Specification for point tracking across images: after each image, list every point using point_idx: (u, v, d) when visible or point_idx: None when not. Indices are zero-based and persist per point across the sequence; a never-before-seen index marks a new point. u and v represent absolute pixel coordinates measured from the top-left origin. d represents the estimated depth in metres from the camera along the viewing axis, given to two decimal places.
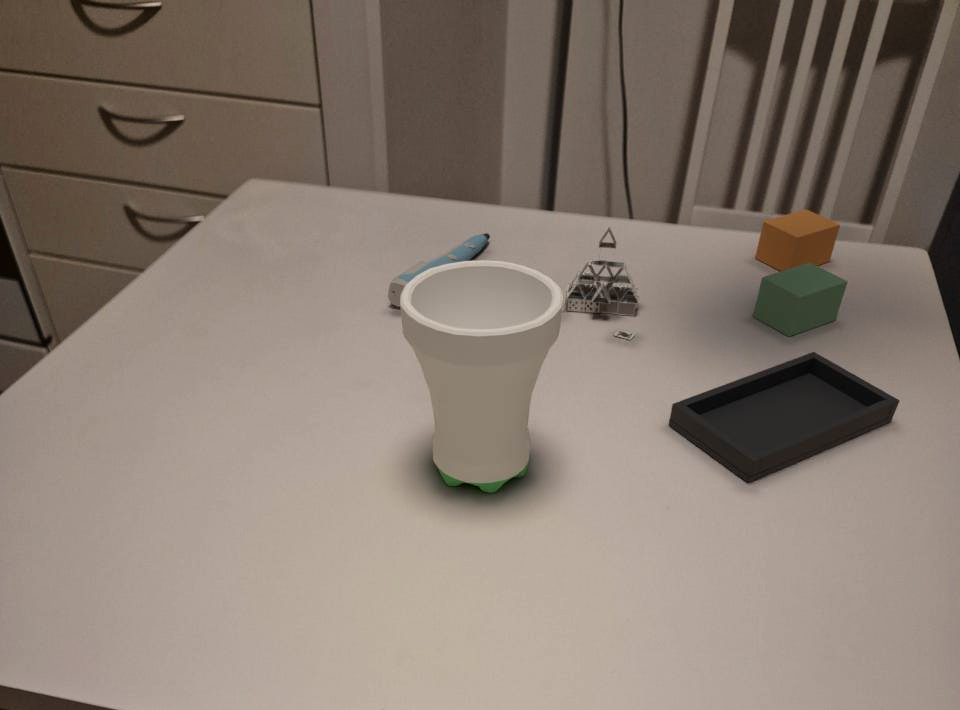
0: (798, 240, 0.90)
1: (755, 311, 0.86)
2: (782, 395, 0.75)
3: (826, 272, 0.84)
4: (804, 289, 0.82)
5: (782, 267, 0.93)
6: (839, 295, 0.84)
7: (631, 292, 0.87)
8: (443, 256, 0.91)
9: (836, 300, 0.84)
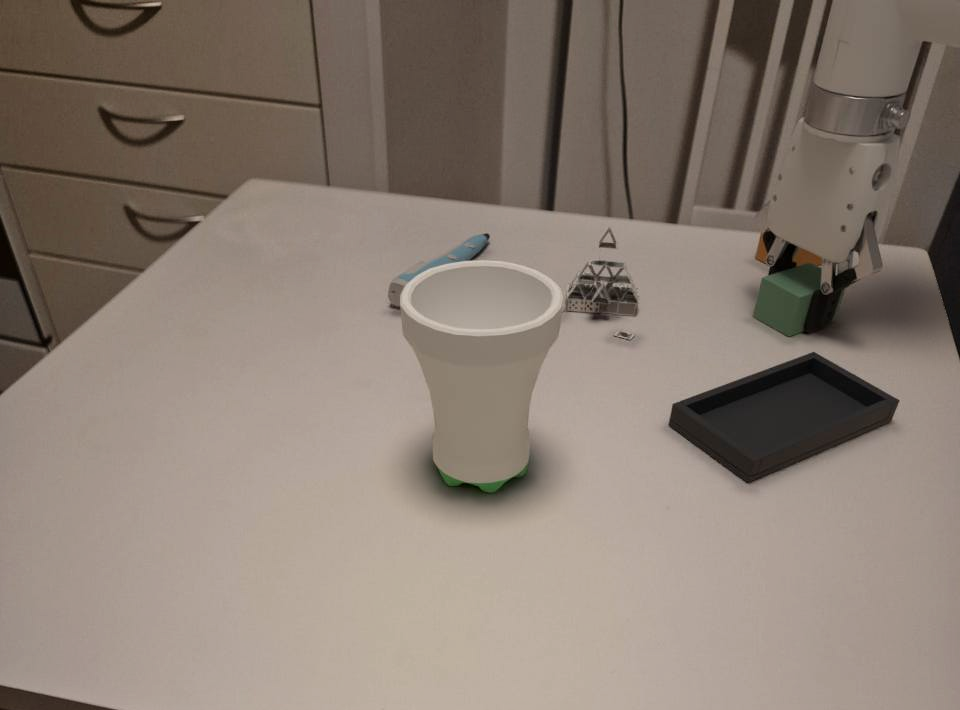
0: None
1: (755, 311, 0.86)
2: (782, 395, 0.75)
3: None
4: (804, 289, 0.82)
5: None
6: None
7: (631, 292, 0.87)
8: (443, 256, 0.91)
9: None
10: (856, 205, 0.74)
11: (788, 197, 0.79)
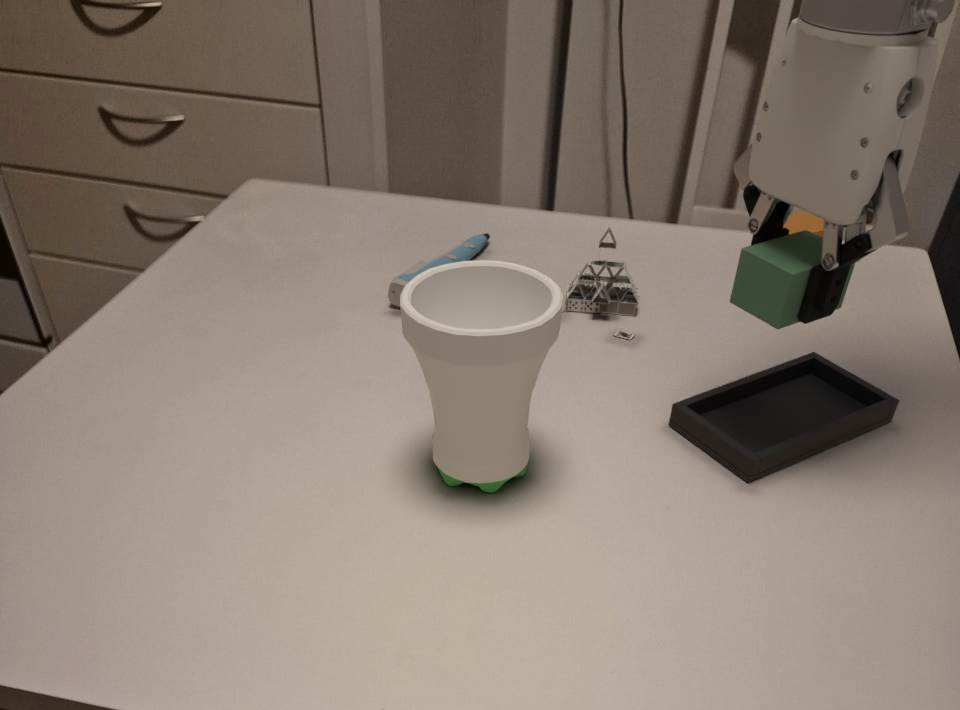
0: None
1: (733, 295, 0.63)
2: (782, 395, 0.75)
3: None
4: (798, 263, 0.59)
5: None
6: None
7: (631, 292, 0.87)
8: (443, 256, 0.91)
9: None
10: (873, 140, 0.51)
11: (776, 134, 0.56)
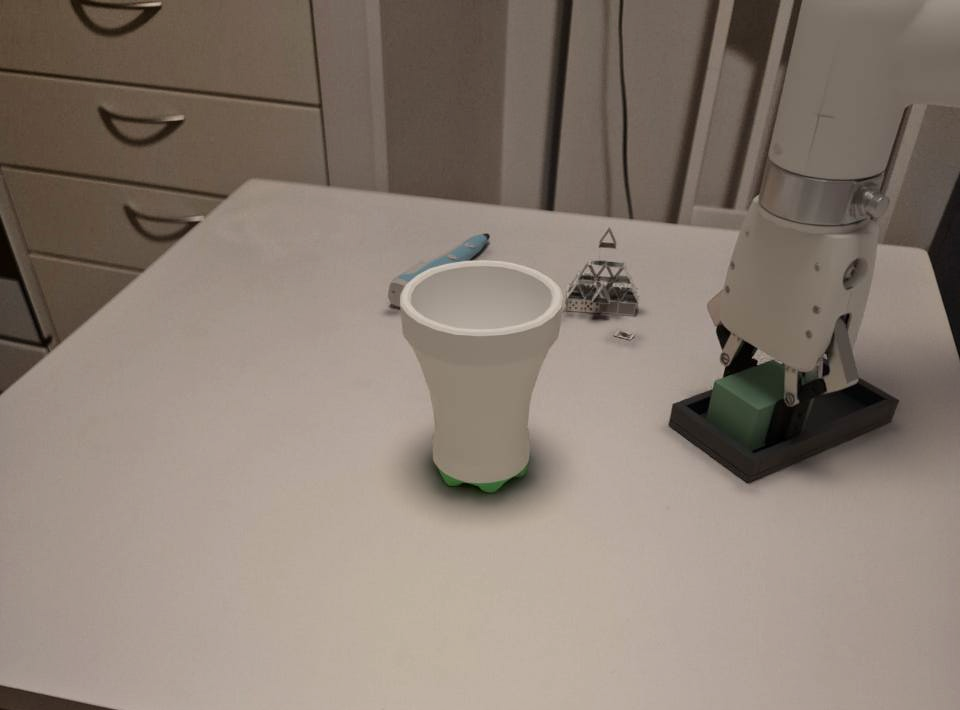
0: None
1: (708, 418, 0.71)
2: None
3: None
4: (764, 397, 0.67)
5: None
6: None
7: (631, 292, 0.87)
8: (443, 256, 0.91)
9: None
10: (824, 308, 0.59)
11: (742, 290, 0.64)
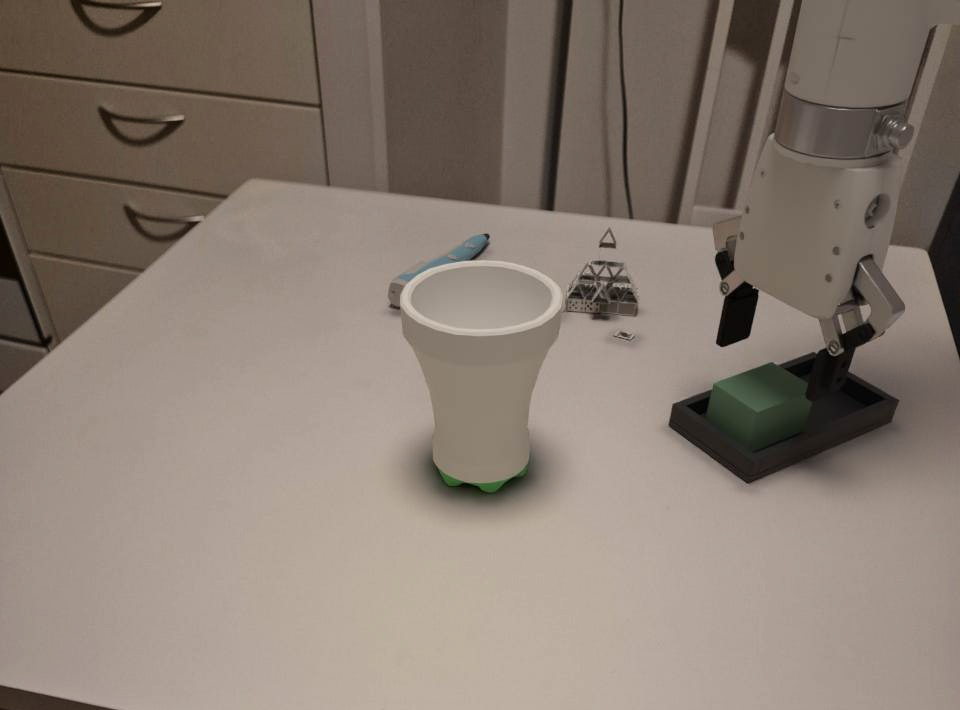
0: None
1: None
2: None
3: (791, 376, 0.70)
4: (763, 400, 0.67)
5: None
6: (807, 405, 0.69)
7: (631, 292, 0.87)
8: (443, 256, 0.91)
9: (803, 410, 0.69)
10: (844, 248, 0.56)
11: (758, 235, 0.61)
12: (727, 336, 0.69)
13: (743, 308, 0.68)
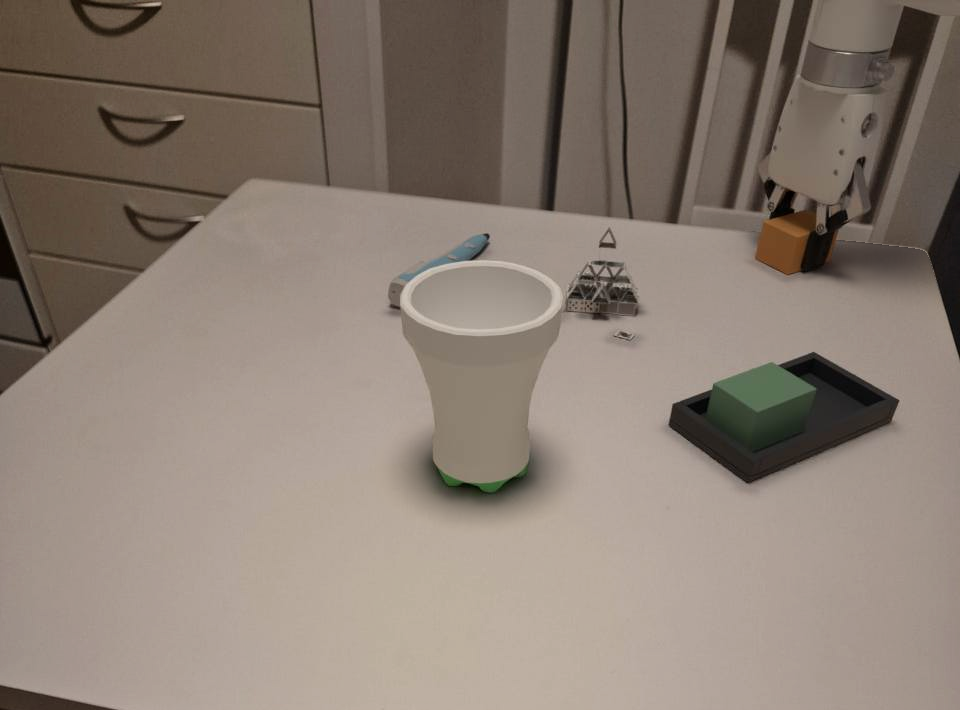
0: (798, 240, 0.90)
1: None
2: None
3: (791, 376, 0.70)
4: (763, 400, 0.67)
5: (782, 267, 0.93)
6: (807, 405, 0.69)
7: (631, 292, 0.87)
8: (443, 256, 0.91)
9: (803, 410, 0.69)
10: (847, 151, 0.83)
11: (786, 147, 0.88)
12: None
13: None
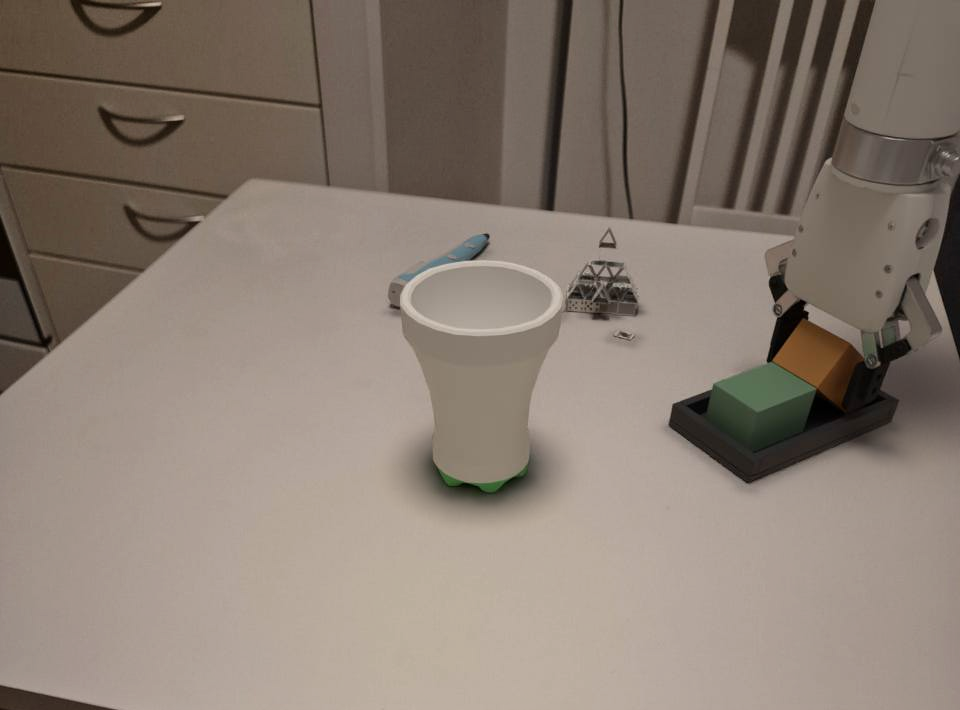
0: (848, 349, 0.67)
1: None
2: None
3: (791, 376, 0.70)
4: (763, 400, 0.67)
5: (812, 377, 0.69)
6: (807, 405, 0.69)
7: (631, 292, 0.87)
8: (443, 256, 0.91)
9: (803, 410, 0.69)
10: (895, 267, 0.60)
11: (810, 253, 0.65)
12: None
13: (794, 329, 0.72)
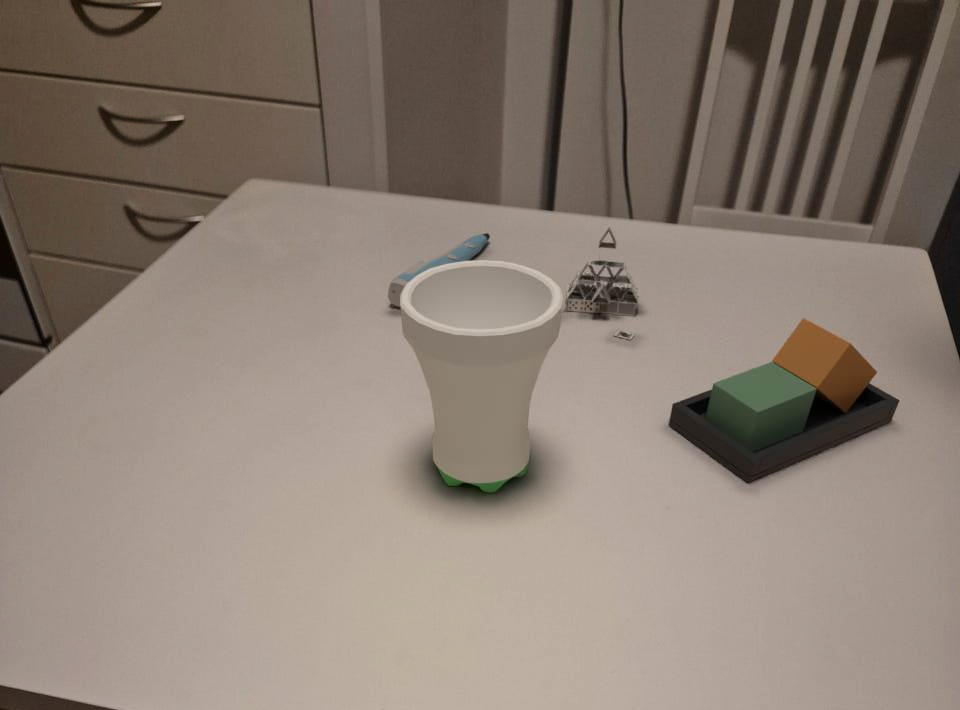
0: (848, 349, 0.67)
1: None
2: None
3: (791, 376, 0.70)
4: (763, 400, 0.67)
5: (812, 377, 0.69)
6: (807, 405, 0.69)
7: (631, 292, 0.87)
8: (443, 256, 0.91)
9: (803, 410, 0.69)
10: None
11: None
12: None
13: None
